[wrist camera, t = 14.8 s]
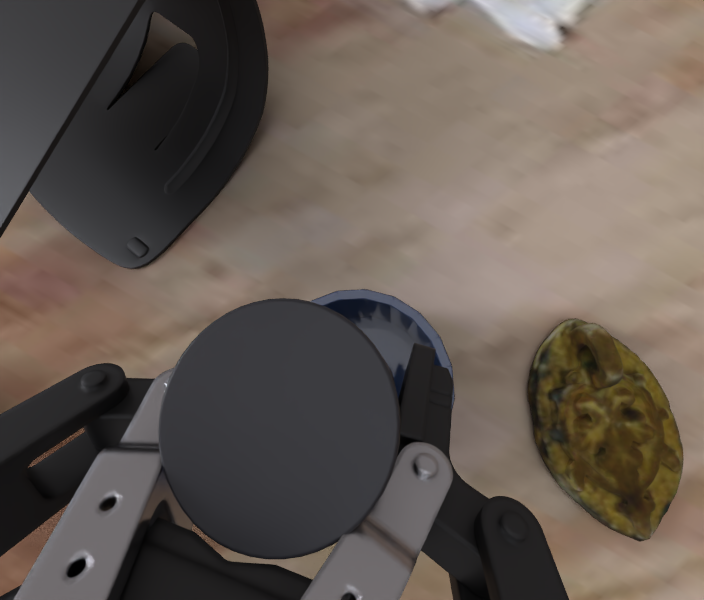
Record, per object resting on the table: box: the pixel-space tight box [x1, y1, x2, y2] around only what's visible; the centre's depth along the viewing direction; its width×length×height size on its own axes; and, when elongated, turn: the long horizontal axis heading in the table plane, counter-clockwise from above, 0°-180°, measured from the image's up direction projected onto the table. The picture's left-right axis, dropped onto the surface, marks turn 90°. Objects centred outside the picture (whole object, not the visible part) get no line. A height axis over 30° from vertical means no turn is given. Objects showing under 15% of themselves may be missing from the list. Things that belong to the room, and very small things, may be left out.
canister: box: [158, 298, 401, 559], centre depth 11 cm, size 5×5×10 cm
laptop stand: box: [0, 0, 268, 269], centre depth 28 cm, size 26×24×16 cm
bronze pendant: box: [528, 319, 683, 541], centre depth 24 cm, size 9×5×15 cm
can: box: [311, 289, 455, 409], centre depth 24 cm, size 11×11×8 cm
